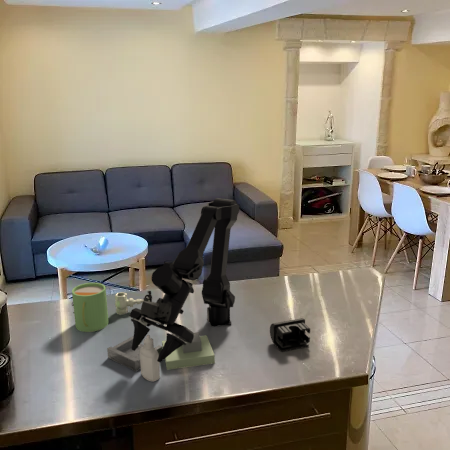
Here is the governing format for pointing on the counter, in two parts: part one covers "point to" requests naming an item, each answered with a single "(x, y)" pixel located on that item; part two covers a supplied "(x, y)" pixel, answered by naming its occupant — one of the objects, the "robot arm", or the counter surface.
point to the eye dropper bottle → (149, 360)
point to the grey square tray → (127, 354)
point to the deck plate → (191, 354)
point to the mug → (90, 307)
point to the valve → (128, 302)
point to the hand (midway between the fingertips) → (145, 355)
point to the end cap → (290, 334)
